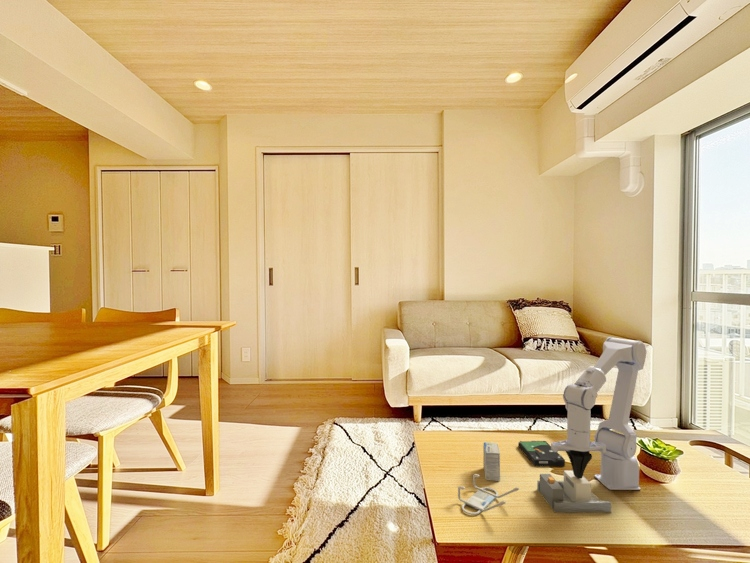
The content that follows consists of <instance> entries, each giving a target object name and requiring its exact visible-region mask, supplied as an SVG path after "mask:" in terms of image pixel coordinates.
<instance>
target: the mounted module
mask: <svg viewBox="0 0 750 563" xmlns="http://www.w3.org/2000/svg"><path fill="white" fill-rule="evenodd" d="M539 481H540V492H541V493H542V495H543V496H544V497H545V499H546V500H547V501H548V503H549V504H550V505H551V506H552V507H554V501H563V497H564V489H563V488H562V487H561V486H560V485H559V483H558V482H557V481H558V480H556V479H555V477H554V476H552V475H551V474H550V473H539ZM540 492H539V493H540ZM542 495H541V496H542ZM543 496H542V497H543ZM544 497H543V498H544ZM545 499H544V500H545ZM546 500H545V501H546ZM547 501H546V502H547ZM548 503H547V504H548ZM549 504H548V505H549ZM550 505H549V506H550Z"/></svg>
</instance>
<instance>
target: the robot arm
mask: <svg viewBox="0 0 750 563" xmlns="http://www.w3.org/2000/svg"><path fill="white" fill-rule="evenodd" d="M602 344H603V345H602V353H601V355H600V357H599V358H598V360H597V361H596V363H595V364H594V366H591V367H587V368H586V369H585V370H584V371H583V373H582V374H581V375H580V376H579V378H577V380H576V381H575V382H574V383H570V384H567V386H566V387H565V388H564V390H563V394H562V399H563V401H564V403H565V409H566V411H567V416H566V417H567V422H566V423H567V425H566V427H567V428H566V430H567V431H566V432H567V433H566V435H567V436H566V440H565V439H564V440H560V441H556V442H550V446H551V449H552V450H553V451H554V452H557V453H559V452H565V453H566V454H567V457H568V459H569V462H570V464H571V468H572V471H573V473H574V476H575V477H576V478H582V477H583V476H584V473H585V470H586V468H587V466H588V464H589V463H590V462H591V460H592V458H593V455H592V454H591V453H590V452H600V474H594V478H595V479H597V480H598V481H599V482H600V483H601V484H602V485H603V486H605V488H606V489H608V490H609V491H613V490H615V491H632V490H633V491H639V490H641V487H640V486H639V485H640V484H639V482H640V466H639V462H638V460H637V458H636V457H635V455H636V452H637V448H638V447H637V439H638V438H637V433H636V432H635V431H634V430H633V428H632V427H630V425H629V420H630V414H631V409H632V404H633V399H634V395H635V394H634V393H635V389H636V384H637V378H638V374H639V371H641V370H643V369H644V366H645V362H646V357H647V349H646V348H647V347H646V345H645V344H644V342H643V341H641V340H633V339H626V338H621V337H620V338H618V337H613V336H608V337H607V338H606V339H605V341H604V342H603V343H602ZM615 366H616V368H617V369H618V370H617V377H616V381H615V386H614V390H613V395H612V401H611V406H610V411H609V416H608V418H607V419H606V420H603V421H600V422H599V424H598V427H597V429H596V431H595V433H594V436H593V437H594V438H593V441H591V415H592V414H591V409H592V408H593V407H594V406H595V404H596V400H597V398H598V393H599V391H600V390H601V388H602V387H603V385H604V384H605V383H606V382H607V377H606V375H607V374H608V373H609V372H610V371H611V370H612V369H613V368H614V367H615Z"/></svg>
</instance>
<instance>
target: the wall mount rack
mask: <svg viewBox="0 0 750 563" xmlns="http://www.w3.org/2000/svg"><path fill="white" fill-rule="evenodd" d="M479 477H480V474H477V473H475V474H473V475H472V485H473V487H474V488H475V489H476V490H477V491H476V492H475V493H473V495H471V496H470V497H469V498H468V499H466V500H464V499H463V498H461V490H464V491H465V489H466V487H465V486H462V485H459V486H458V487H457V488H458V489H457V494H458V495H457V498H458V500H459V501H460V502H462V503H463V504H462V505H461V509H462V511H463V512H464V513H465V514H468V515H470V516H477V515H479V514H480V513H481V512H485V513H486V512H488V511H490V510H492V509H495V508H497V507H500V506H504V505H506V501H505V500H502V501H499V503H496V504H494V505H491V504H492V503H493V502H494V501H495V500H496V498H498V499H500V498H503V497H505V496H507V495H509V494H512V493H514V492H517V491H519V490H520V488H519V487H518V486H516V487H514V488H513V489H511V490H509V491H506V492H504V493H502V494H500V495H499V492H498V491H497V490H496V489H494V488H492V487H489V486H486V487H485V486H484V487H478V486H477V485H476V478H479ZM489 490H490V491H492V492H494V493H492V492H490V491H489ZM466 505H467V507H470V508H473V509H475V510H476V512H474V511H473V512H472V511H468V510H466V509H465V506H466ZM490 505H491V506H490Z"/></svg>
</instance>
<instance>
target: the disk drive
mask: <svg viewBox="0 0 750 563" xmlns="http://www.w3.org/2000/svg"><path fill="white" fill-rule="evenodd" d="M518 448H519V449H520V451H521V452H522V453H523V454H524V455H525V457H527V459H528V460H529V461H530V462H531V464H533V466H534V467H565V466H566V459H564V457H563V456H562V455H560V454H559V452H554V451H553V450H552V449H551V444H549V443H548V441H546V440H530V441H529V440H526V441H525V440H524V441H522V440H519V442H518Z"/></svg>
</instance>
